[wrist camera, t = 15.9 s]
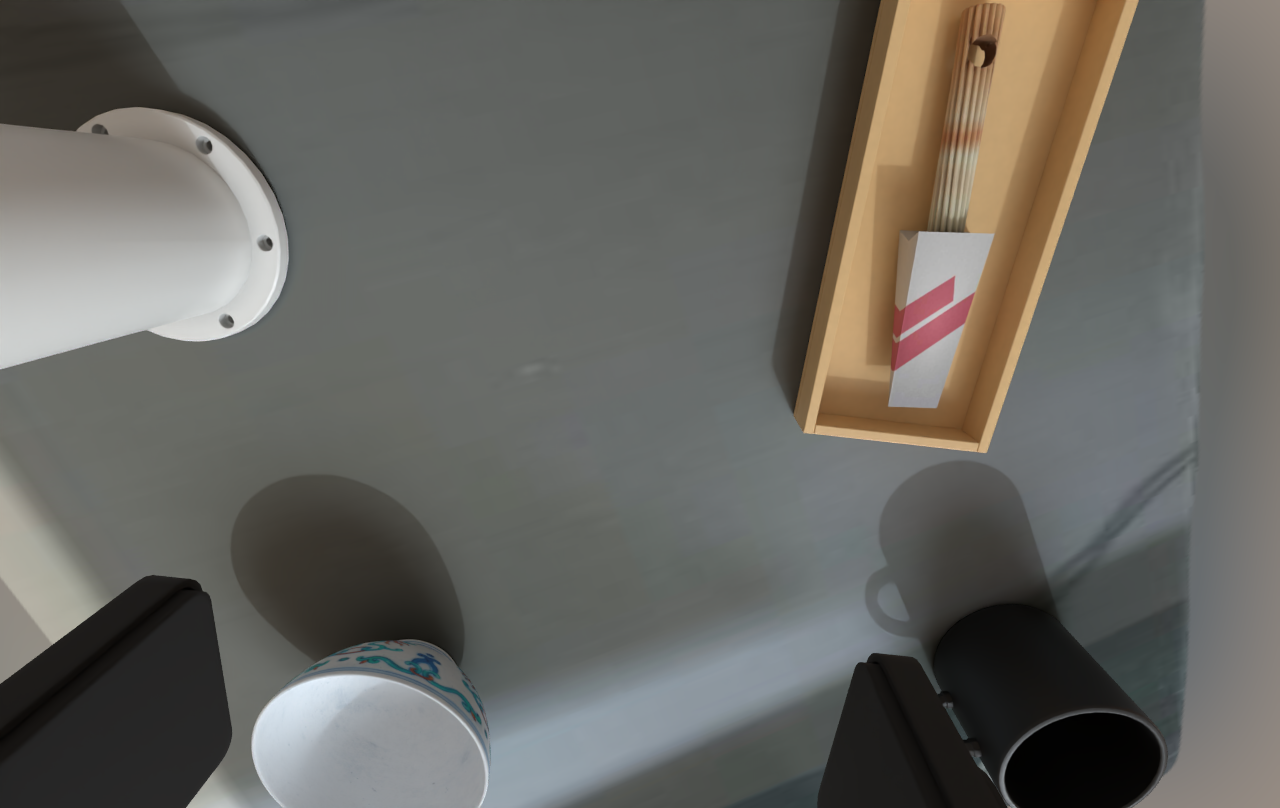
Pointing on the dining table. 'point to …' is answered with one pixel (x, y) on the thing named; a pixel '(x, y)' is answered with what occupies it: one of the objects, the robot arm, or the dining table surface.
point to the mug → (1045, 713)
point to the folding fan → (945, 231)
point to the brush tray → (999, 204)
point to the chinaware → (375, 732)
